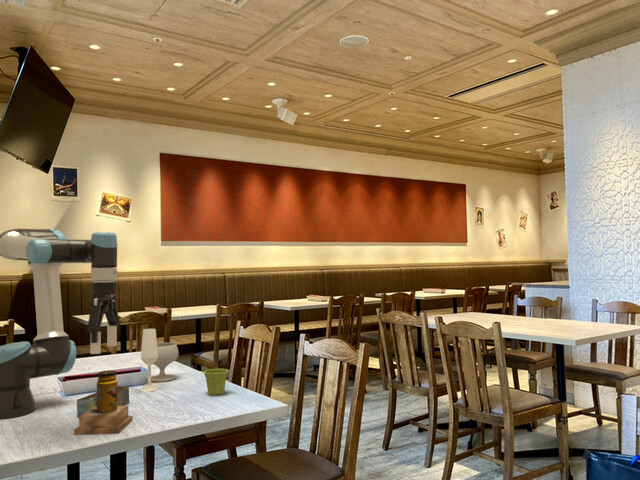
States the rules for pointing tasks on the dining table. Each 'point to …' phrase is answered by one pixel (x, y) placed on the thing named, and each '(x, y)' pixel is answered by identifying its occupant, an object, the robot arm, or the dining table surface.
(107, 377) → the condiment
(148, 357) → the champagne flute
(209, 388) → the plant pot
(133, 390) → the dining table surface
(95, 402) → the beverage carton
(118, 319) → the robot arm
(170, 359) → the chalice
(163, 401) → the dining table surface
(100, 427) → the walnut plinth
